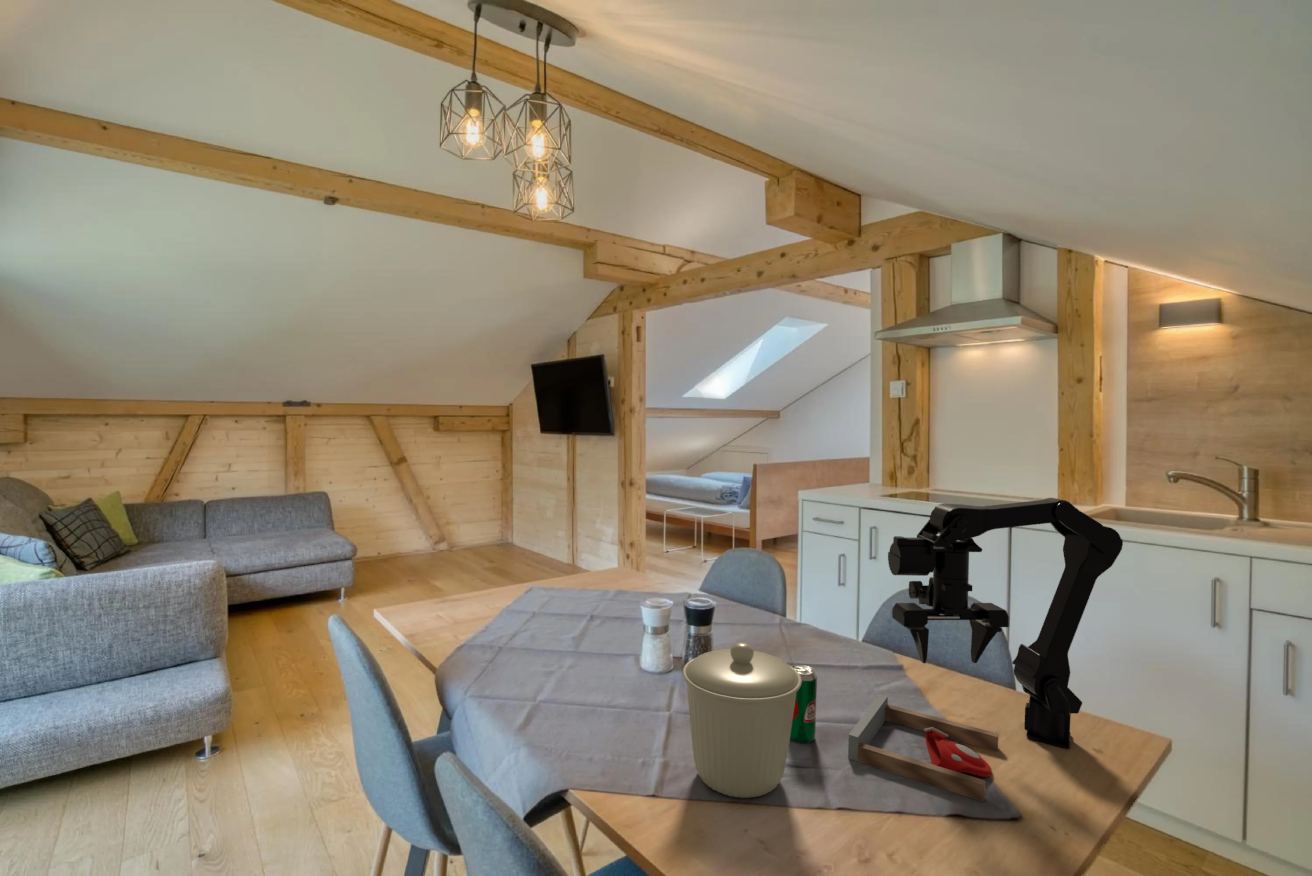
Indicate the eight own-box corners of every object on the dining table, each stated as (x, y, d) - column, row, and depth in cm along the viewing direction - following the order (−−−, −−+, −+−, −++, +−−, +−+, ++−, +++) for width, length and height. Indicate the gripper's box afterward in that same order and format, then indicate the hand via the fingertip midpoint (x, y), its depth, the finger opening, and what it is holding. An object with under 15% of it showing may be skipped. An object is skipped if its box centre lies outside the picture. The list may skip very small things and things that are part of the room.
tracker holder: (1002, 762, 102) (980, 769, 95) (992, 787, 102) (969, 796, 96) (932, 717, 111) (907, 721, 104) (922, 740, 111) (897, 745, 105)
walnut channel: (998, 747, 108) (998, 733, 108) (983, 801, 93) (984, 785, 93) (887, 717, 119) (887, 704, 119) (857, 761, 103) (857, 746, 103)
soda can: (809, 747, 107) (811, 677, 107) (781, 738, 110) (783, 670, 109) (819, 735, 111) (821, 668, 111) (791, 727, 114) (793, 661, 114)
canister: (663, 797, 92) (667, 654, 91) (698, 739, 109) (701, 618, 108) (789, 827, 86) (793, 674, 85) (805, 761, 103) (809, 633, 102)
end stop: (887, 717, 119) (887, 696, 119) (857, 761, 103) (858, 737, 103) (878, 714, 120) (879, 694, 119) (848, 758, 104) (848, 734, 104)
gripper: (977, 565, 120) (975, 645, 121) (881, 565, 120) (879, 646, 120) (1012, 580, 109) (1010, 668, 110) (906, 580, 109) (904, 669, 109)
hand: (948, 662), depth 112 cm, fingers open, 9 cm apart
